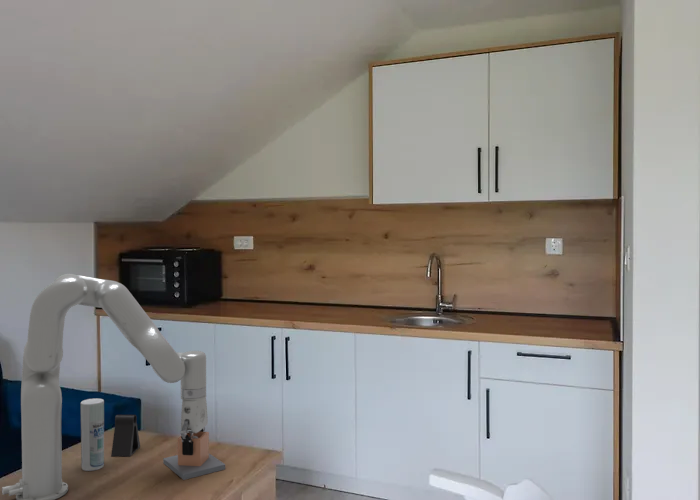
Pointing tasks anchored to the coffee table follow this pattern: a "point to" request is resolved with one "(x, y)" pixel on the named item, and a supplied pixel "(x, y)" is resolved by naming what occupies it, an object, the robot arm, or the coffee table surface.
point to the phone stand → (125, 436)
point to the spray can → (92, 434)
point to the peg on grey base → (194, 471)
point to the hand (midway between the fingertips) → (193, 449)
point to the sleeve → (195, 450)
